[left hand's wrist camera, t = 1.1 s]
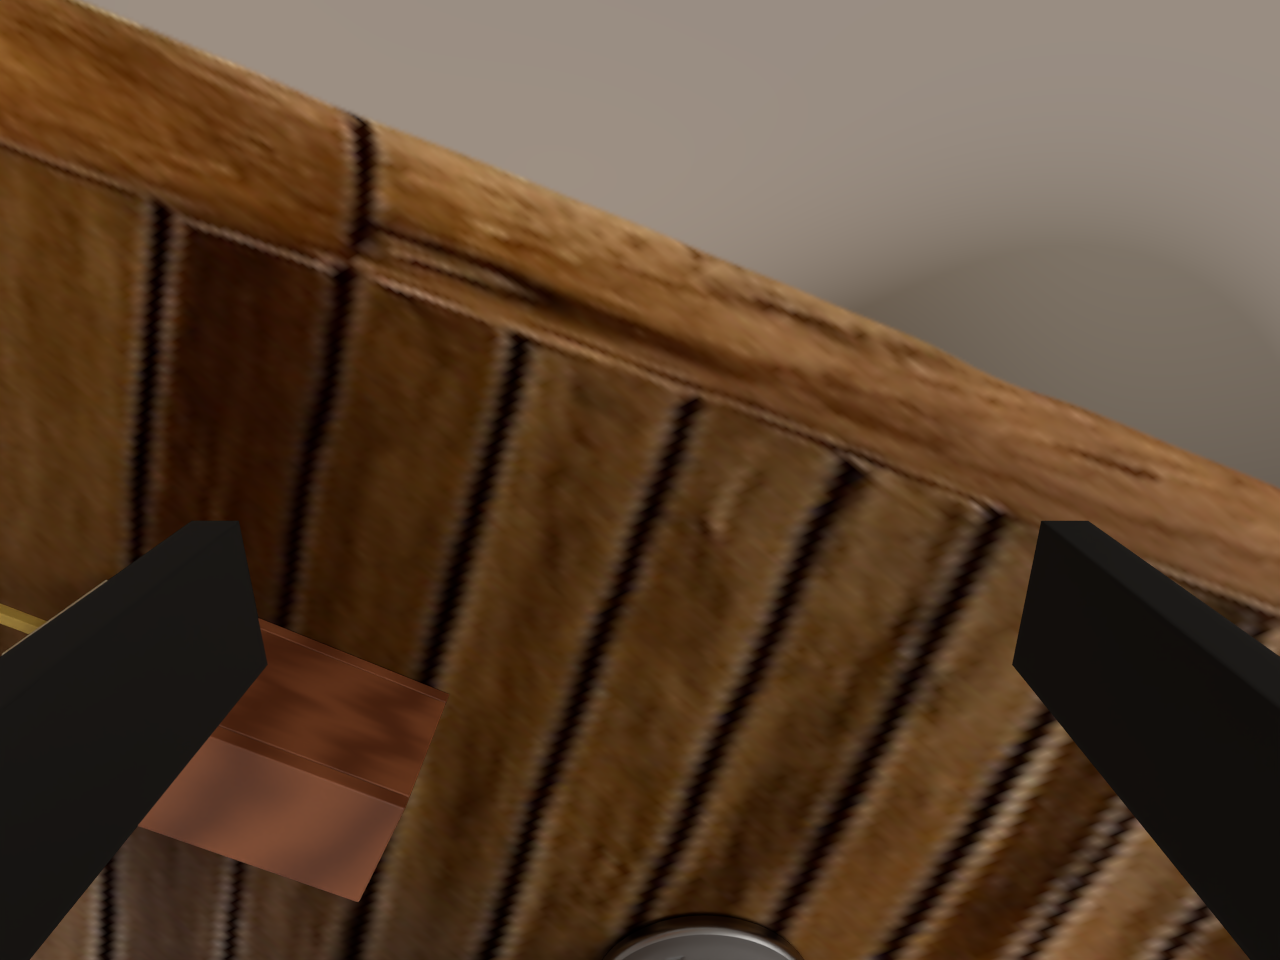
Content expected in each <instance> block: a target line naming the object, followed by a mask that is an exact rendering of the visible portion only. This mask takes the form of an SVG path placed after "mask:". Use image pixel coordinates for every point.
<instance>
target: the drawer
mask: <svg viewBox="0 0 1280 960" xmlns="http://www.w3.org/2000/svg"><path fill="white" fill-rule="evenodd" d="M106 581H108V580H105V581H103V582H102V583H101V584H99V585H98V586H96V587H95V588H93V589H92V590H91V591H89V592H88V593H86V594H85V595H84V596H82V597H81V598H79V599H78V600H77V601H75V602H74V603H72V604H71V605H70V606H68V607H67V608H65V609H64V610H63V611H61V612H60V613H58V614H57V615H56V616H54V617H53V618H51V619H50V620H49V621H45V620H42V619H40V618H37V617H34V616H32V615H29V614H27V613H24V612H21V611H19V610H16V609H14V608H11V607H8V606H6V605H3V604H0V624H3V625H6V626H8V627H11V628H14V629H16V630H19V631H22V632H24V633H27V634H29V635H27V636H26V637H25V638H23V639H22V640H20V641H19V642H18V643H16V644H15V645H13V646H12V647H11V648H9V649H8V650H6V651H5V652H4V653H2V655H3V654H5V653H6V652H8V651H9V650H10V649H12V648H13V647H15V646H16V645H17V644H19V643H20V642H22V641H23V640H24V639H26V638H27V637H29V636H30V635H32V634H33V633H34V632H36V631H37V630H39V629H40V628H41V627H43V626H44V625H46V624H47V623H48V622H50V621H51V620H53V619H54V618H56V617H57V616H58V615H60V614H61V613H63V612H64V611H65V610H67V609H68V608H70V607H71V606H72V605H74V604H75V603H77V602H78V601H80V600H81V599H82V598H84V597H85V596H87V595H88V594H89V593H91V592H92V591H94V590H95V589H96V588H98V587H99V586H101V585H102V584H104V583H105V582H106Z"/></svg>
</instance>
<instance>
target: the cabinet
mask: <svg viewBox="0 0 1280 960" xmlns="http://www.w3.org/2000/svg"><path fill="white" fill-rule="evenodd" d="M258 619H259V624H260V629H261V634H262V639H263V644H264V649H265V654H266V659H267V664H268V665H267V666H266V667H265V669H264V670H263V671H262V672H261V674H260V675H259V676H258V677H257V679H256V680H255V681H254V682H253V684H252V685H251V686H250V687H249V688H248V690H247V691H246V692H245V693H244V695H243V696H242V697H241V698H240V700H239V701H238V702H237V703H236V705H235V706H234V707H233V708H232V710H231V711H230V712H229V713H228V715H227V716H226V717H225V718H224V719H223V721H222V722H221V723H220V724H219V726H218V727H217V728H216V729H215V731H214V732H213V733H212V734H211V736H210V737H209V738H208V739H207V741H206V742H205V743H204V744H203V745H202V747H201V748H200V749H199V750H198V752H197V753H196V754H195V755H194V757H193V758H192V759H191V760H190V762H189V763H188V764H187V765H186V767H185V768H184V769H183V770H182V772H181V773H180V774H179V775H178V776H177V778H176V779H175V780H174V781H173V783H172V784H171V785H170V786H169V788H168V789H167V790H166V791H165V793H164V794H163V795H162V796H161V798H160V799H159V800H158V801H157V802H156V804H155V805H154V806H153V807H152V809H151V810H150V811H149V812H148V814H147V815H146V816H145V817H144V819H143V820H142V821H141V822H140V824H139V825H138V826H140V827H143V828H146V829H148V830H151V831H154V832H157V833H160V834H163V835H166V836H169V837H171V838H174V839H177V840H180V841H183V842H186V843H189V844H192V845H195V846H197V847H200V848H203V849H206V850H209V851H212V852H215V853H218V854H220V855H223V856H226V857H229V858H232V859H235V860H238V861H241V862H244V863H246V864H249V865H252V866H255V867H258V868H261V869H264V870H267V871H269V872H272V873H275V874H278V875H281V876H284V877H287V878H290V879H293V880H295V881H298V882H301V883H304V884H307V885H310V886H313V887H316V888H318V889H321V890H324V891H327V892H330V893H333V894H336V895H339V896H342V897H344V898H347V899H350V900H353V901H356V902H359V901H360V899H361V897H362V894H363V892H364V890H365V888H366V886H367V884H368V882H369V880H370V878H371V876H372V874H373V872H374V870H375V868H376V866H377V864H378V862H379V860H380V858H381V856H382V854H383V852H384V850H385V848H386V846H387V844H388V842H389V840H390V838H391V836H392V834H393V832H394V830H395V828H396V826H397V824H398V822H399V820H400V818H401V816H402V814H403V812H404V810H405V808H406V805H407V803H408V800H409V797H410V795H411V792H412V790H413V787H414V784H415V782H416V779H417V777H418V774H419V771H420V769H421V766H422V764H423V761H424V759H425V756H426V753H427V751H428V748H429V746H430V743H431V741H432V738H433V735H434V733H435V730H436V728H437V725H438V722H439V720H440V717H441V715H442V712H443V710H444V707H445V704H446V702H447V699H448V697H449V694H447V693H445V692H442V691H440V690H437V689H435V688H432V687H430V686H427V685H425V684H422V683H420V682H417V681H415V680H412V679H410V678H407V677H405V676H402V675H400V674H397V673H395V672H392V671H390V670H387V669H385V668H382V667H380V666H377V665H375V664H372V663H370V662H367V661H365V660H362V659H360V658H357V657H355V656H352V655H350V654H347V653H345V652H342V651H340V650H337V649H335V648H332V647H330V646H327V645H325V644H322V643H320V642H317V641H315V640H312V639H310V638H307V637H305V636H302V635H300V634H297V633H295V632H292V631H290V630H287V629H285V628H282V627H280V626H277V625H275V624H272V623H270V622H267V621H265V620H262V619H260V618H258Z"/></svg>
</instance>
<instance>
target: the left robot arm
mask: <svg viewBox="0 0 1280 960" xmlns="http://www.w3.org/2000/svg"><path fill="white" fill-rule="evenodd" d="M267 665H268V664H267V659H266V654H265V649H264V644H263V639H262V634H261V629H260V624H259V619H258V614H257V609H256V604H255V599H254V594H253V589H252V584H251V579H250V575H249V570H248V565H247V560H246V555H245V550H244V545H243V540H242V535H241V530H240V525H239V521H191V522H190V523H188V524H187V525H185V526H184V527H183V528H181V529H180V530H178V531H177V532H175V533H174V534H173V535H171V536H170V537H168V538H167V539H166V540H164V541H163V542H161V543H160V544H159V545H157V546H156V547H154V548H153V549H152V550H150V551H149V552H147V553H146V554H144V555H143V556H142V557H140V558H139V559H137V560H136V561H135V562H133V563H132V564H130V565H129V566H128V567H126V568H125V569H123V570H122V571H120V572H119V573H118V574H116V575H115V576H113V577H112V578H111V579H109V580H108V581H106V582H105V583H104V584H102V585H101V586H99V587H98V588H96V589H95V590H94V591H92V592H91V593H89V594H88V595H87V596H85V597H84V598H82V599H81V600H80V601H78V602H77V603H75V604H74V605H72V606H71V607H70V608H68V609H67V610H65V611H64V612H63V613H61V614H60V615H58V616H57V617H56V618H54V619H53V620H51V621H50V622H48V623H47V624H46V625H44V626H43V627H41V628H40V629H39V630H37V631H36V632H34V633H33V634H32V635H30V636H29V637H27V638H26V639H24V640H23V641H22V642H20V643H19V644H17V645H16V646H15V647H13V648H12V649H10V650H9V651H8V652H6V653H5V654H3V655H2V656H1V657H0V960H30V959H31V957H32V956H33V955H34V954H35V952H36V951H37V950H38V949H39V947H40V946H41V945H42V944H43V943H44V941H45V940H46V939H47V938H48V936H49V935H50V934H51V933H52V931H53V930H54V929H55V928H56V926H57V925H58V924H59V923H60V921H61V920H62V919H63V918H64V917H65V915H66V914H67V913H68V912H69V910H70V909H71V908H72V907H73V905H74V904H75V903H76V902H77V900H78V899H79V898H80V897H81V895H82V894H83V893H84V892H85V890H86V889H87V888H88V887H89V886H90V884H91V883H92V882H93V881H94V879H95V878H96V877H97V876H98V874H99V873H100V872H101V871H102V869H103V868H104V867H105V866H106V864H107V863H108V862H109V861H110V860H111V858H112V857H113V856H114V855H115V853H116V852H117V851H118V850H119V848H120V847H121V846H122V845H123V843H124V842H125V841H126V840H127V838H128V837H129V836H130V835H131V833H132V832H133V831H134V830H135V829H136V827H137V826H138V825H139V824H140V822H141V821H142V820H143V819H144V817H145V816H146V815H147V814H148V812H149V811H150V810H151V809H152V807H153V806H154V805H155V804H156V802H157V801H158V800H159V799H160V798H161V796H162V795H163V794H164V793H165V791H166V790H167V789H168V788H169V786H170V785H171V784H172V783H173V781H174V780H175V779H176V778H177V776H178V775H179V774H180V773H181V772H182V770H183V769H184V768H185V767H186V765H187V764H188V763H189V762H190V760H191V759H192V758H193V757H194V755H195V754H196V753H197V752H198V750H199V749H200V748H201V747H202V745H203V744H204V743H205V742H206V741H207V739H208V738H209V737H210V736H211V734H212V733H213V732H214V731H215V729H216V728H217V727H218V726H219V724H220V723H221V722H222V721H223V719H224V718H225V717H226V716H227V715H228V713H229V712H230V711H231V710H232V708H233V707H234V706H235V705H236V703H237V702H238V701H239V700H240V698H241V697H242V696H243V695H244V693H245V692H246V691H247V690H248V688H249V687H250V686H251V685H252V684H253V682H254V681H255V680H256V679H257V677H258V676H259V675H260V674H261V672H262V671H263V670H264V669H265V667H266V666H267ZM1012 665H1013V666H1014V667H1015V669H1016V670H1017V671H1018V672H1019V674H1020V675H1021V676H1022V677H1023V679H1024V680H1025V681H1026V682H1027V684H1028V685H1029V686H1030V687H1031V688H1032V690H1033V691H1034V692H1035V693H1036V695H1037V696H1038V697H1039V698H1040V700H1041V701H1042V702H1043V703H1044V705H1045V706H1046V707H1047V708H1048V710H1049V711H1050V712H1051V713H1052V715H1053V716H1054V717H1055V718H1056V719H1057V721H1058V722H1059V723H1060V724H1061V726H1062V727H1063V728H1064V729H1065V731H1066V732H1067V733H1068V734H1069V736H1070V737H1071V738H1072V739H1073V741H1074V742H1075V743H1076V744H1077V745H1078V747H1079V748H1080V749H1081V750H1082V752H1083V753H1084V754H1085V755H1086V757H1087V758H1088V759H1089V760H1090V762H1091V763H1092V764H1093V765H1094V767H1095V768H1096V769H1097V770H1098V772H1099V773H1100V774H1101V775H1102V776H1103V778H1104V779H1105V780H1106V781H1107V783H1108V784H1109V785H1110V786H1111V788H1112V789H1113V790H1114V791H1115V793H1116V794H1117V795H1118V796H1119V798H1120V799H1121V800H1122V801H1123V803H1124V804H1125V805H1126V806H1127V807H1128V809H1129V810H1130V811H1131V812H1132V814H1133V815H1134V816H1135V817H1136V819H1137V820H1138V821H1139V822H1140V824H1141V825H1142V826H1143V827H1144V829H1145V830H1146V831H1147V832H1148V833H1149V835H1150V836H1151V837H1152V838H1153V840H1154V841H1155V842H1156V843H1157V845H1158V846H1159V847H1160V848H1161V850H1162V851H1163V852H1164V853H1165V855H1166V856H1167V857H1168V858H1169V860H1170V861H1171V862H1172V863H1173V864H1174V866H1175V867H1176V868H1177V869H1178V871H1179V872H1180V873H1181V874H1182V876H1183V877H1184V878H1185V879H1186V881H1187V882H1188V883H1189V884H1190V886H1191V887H1192V888H1193V889H1194V890H1195V892H1196V893H1197V894H1198V895H1199V897H1200V898H1201V899H1202V900H1203V902H1204V903H1205V904H1206V905H1207V907H1208V908H1209V909H1210V910H1211V912H1212V913H1213V914H1214V915H1215V917H1216V918H1217V919H1218V920H1219V921H1220V923H1221V924H1222V925H1223V926H1224V928H1225V929H1226V930H1227V931H1228V933H1229V934H1230V935H1231V936H1232V938H1233V939H1234V940H1235V941H1236V943H1237V944H1238V945H1239V946H1240V947H1241V949H1242V950H1243V951H1244V952H1245V954H1246V955H1247V956H1248V957H1249V959H1250V960H1280V657H1279V656H1278V655H1277V654H1275V653H1274V652H1272V651H1271V650H1270V649H1268V648H1267V647H1265V646H1264V645H1263V644H1261V643H1260V642H1258V641H1257V640H1256V639H1254V638H1253V637H1251V636H1250V635H1248V634H1247V633H1246V632H1244V631H1243V630H1241V629H1240V628H1239V627H1237V626H1236V625H1234V624H1233V623H1232V622H1230V621H1229V620H1227V619H1226V618H1224V617H1223V616H1222V615H1220V614H1219V613H1217V612H1216V611H1215V610H1213V609H1212V608H1210V607H1209V606H1208V605H1206V604H1205V603H1203V602H1202V601H1200V600H1199V599H1198V598H1196V597H1195V596H1193V595H1192V594H1191V593H1189V592H1188V591H1186V590H1185V589H1184V588H1182V587H1181V586H1179V585H1178V584H1176V583H1175V582H1174V581H1172V580H1171V579H1169V578H1168V577H1167V576H1165V575H1164V574H1162V573H1161V572H1160V571H1158V570H1157V569H1155V568H1154V567H1152V566H1151V565H1150V564H1148V563H1147V562H1145V561H1144V560H1143V559H1141V558H1140V557H1138V556H1137V555H1136V554H1134V553H1133V552H1131V551H1130V550H1128V549H1127V548H1126V547H1124V546H1123V545H1121V544H1120V543H1119V542H1117V541H1116V540H1114V539H1113V538H1112V537H1110V536H1109V535H1107V534H1106V533H1104V532H1103V531H1102V530H1100V529H1099V528H1097V527H1096V526H1095V525H1093V524H1092V523H1090V522H1089V521H1041V525H1040V530H1039V535H1038V540H1037V545H1036V550H1035V555H1034V560H1033V565H1032V570H1031V575H1030V579H1029V584H1028V589H1027V594H1026V599H1025V604H1024V609H1023V614H1022V619H1021V624H1020V629H1019V634H1018V639H1017V644H1016V649H1015V654H1014V659H1013V664H1012ZM602 960H804V959H803V958H802V956H801V955H800V954H799V952H798V951H797V950H796V949H795V948H794V947H793V946H792V945H791V944H790V943H788V942H787V941H786V940H785V939H783V938H782V937H780V936H779V935H777V934H776V933H774V932H772V931H770V930H768V929H767V928H764V927H762V926H760V925H757V924H754V923H751V922H748V921H744V920H740V919H736V918H730V917H724V916H710V915H699V916H686V917H679V918H674V919H668V920H665V921H661V922H658V923H655V924H652V925H649V926H647V927H644V928H642V929H640V930H638V931H636V932H634V933H632V934H631V935H629V936H627V937H626V938H624V939H623V940H622V941H620V942H619V943H618V944H617V945H615V946H614V947H613V948H612V949H611V950H610V951H609V952H608V953H607V954H606V956H605V957H604V958H603V959H602Z"/></svg>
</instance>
